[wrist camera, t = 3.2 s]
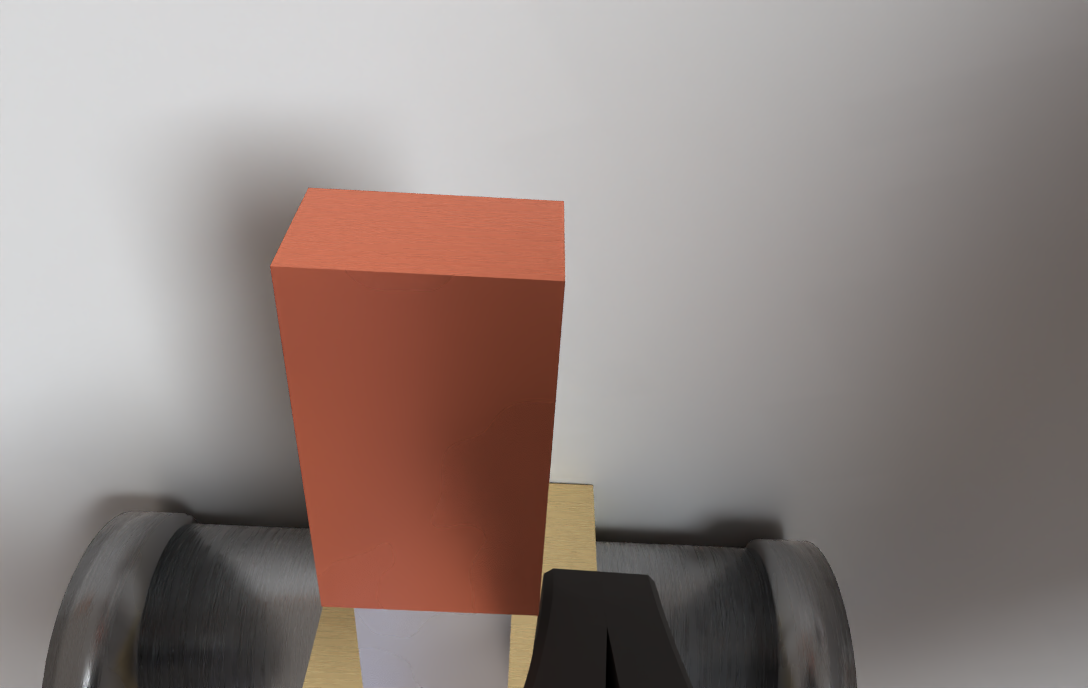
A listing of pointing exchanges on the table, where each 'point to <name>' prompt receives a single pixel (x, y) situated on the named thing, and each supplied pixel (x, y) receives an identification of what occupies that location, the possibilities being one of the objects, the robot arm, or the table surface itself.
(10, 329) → the table surface
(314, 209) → the valve lever
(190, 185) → the table surface
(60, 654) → the valve
